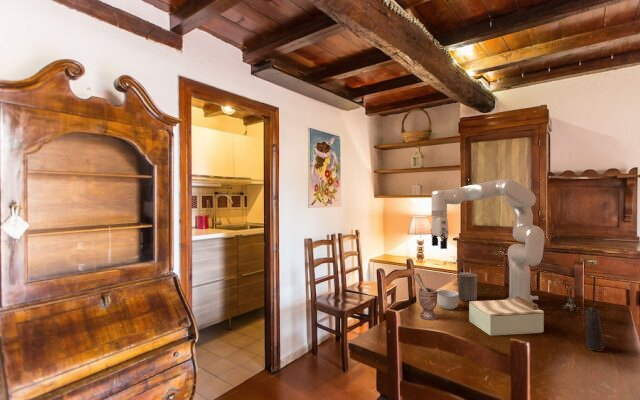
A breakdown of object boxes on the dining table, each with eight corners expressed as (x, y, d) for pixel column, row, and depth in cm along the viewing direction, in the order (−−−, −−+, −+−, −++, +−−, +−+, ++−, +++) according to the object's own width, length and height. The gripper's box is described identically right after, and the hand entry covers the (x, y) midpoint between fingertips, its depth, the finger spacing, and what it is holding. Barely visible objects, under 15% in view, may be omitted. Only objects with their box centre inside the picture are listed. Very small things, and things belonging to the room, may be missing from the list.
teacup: (462, 311, 168) (462, 295, 168) (440, 311, 168) (440, 295, 168) (451, 302, 182) (451, 287, 182) (431, 302, 182) (431, 287, 182)
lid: (517, 301, 158) (517, 295, 158) (543, 313, 142) (543, 306, 142) (469, 303, 155) (469, 297, 155) (490, 315, 139) (490, 309, 139)
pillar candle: (459, 300, 185) (459, 273, 185) (457, 295, 194) (457, 269, 194) (478, 302, 182) (478, 274, 182) (475, 296, 191) (475, 270, 191)
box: (517, 318, 158) (517, 301, 158) (543, 332, 142) (543, 313, 142) (469, 320, 156) (469, 303, 155) (490, 335, 140) (490, 316, 139)
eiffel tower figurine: (587, 309, 171) (587, 283, 170) (591, 316, 162) (592, 288, 161) (551, 305, 178) (552, 280, 178) (554, 311, 169) (554, 284, 169)
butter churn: (577, 340, 135) (578, 270, 134) (609, 347, 129) (610, 274, 128) (577, 348, 128) (577, 275, 127) (610, 356, 122) (611, 279, 121)
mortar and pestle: (410, 317, 161) (410, 275, 160) (415, 311, 168) (414, 271, 168) (435, 321, 155) (435, 278, 154) (439, 315, 162) (439, 274, 162)
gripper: (454, 215, 166) (454, 249, 166) (438, 213, 183) (438, 244, 183) (440, 215, 165) (440, 250, 165) (425, 213, 182) (425, 244, 182)
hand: (439, 247), depth 174 cm, fingers open, 9 cm apart
